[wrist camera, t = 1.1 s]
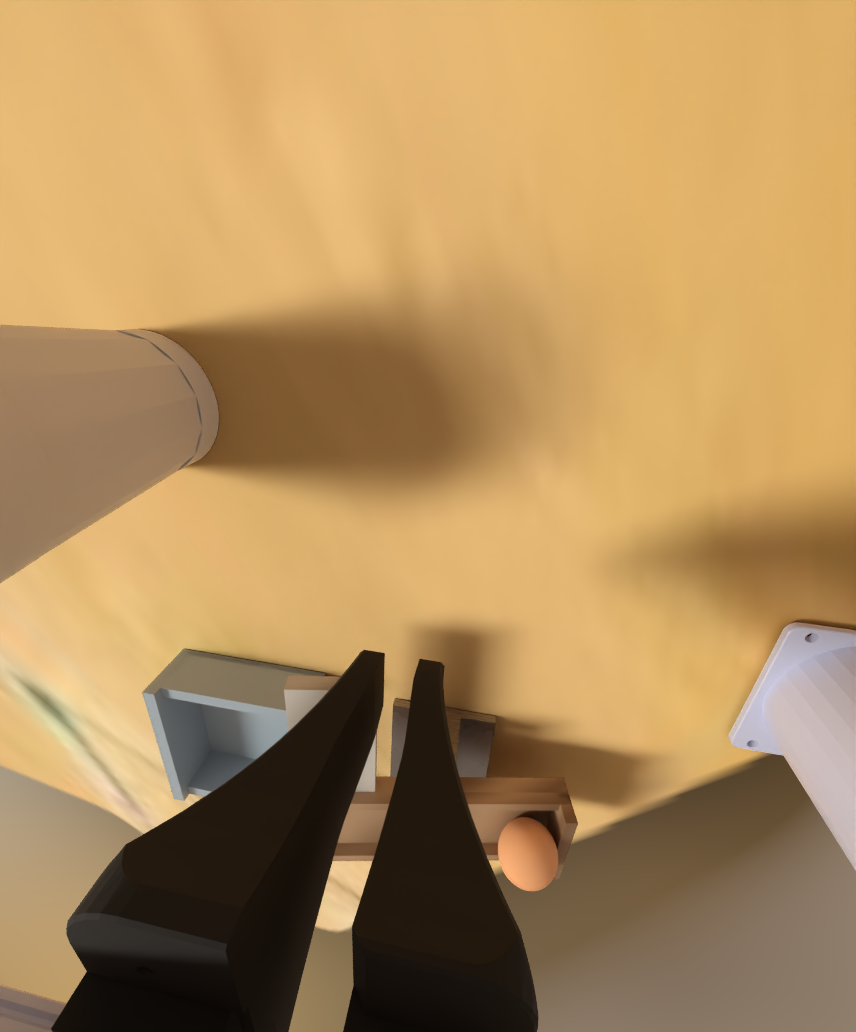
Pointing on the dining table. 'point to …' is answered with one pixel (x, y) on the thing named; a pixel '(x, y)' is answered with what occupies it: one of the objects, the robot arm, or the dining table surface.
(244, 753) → the tray
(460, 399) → the dining table surface
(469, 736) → the stand
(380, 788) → the seesaw
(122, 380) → the cup
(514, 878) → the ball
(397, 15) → the dining table surface
